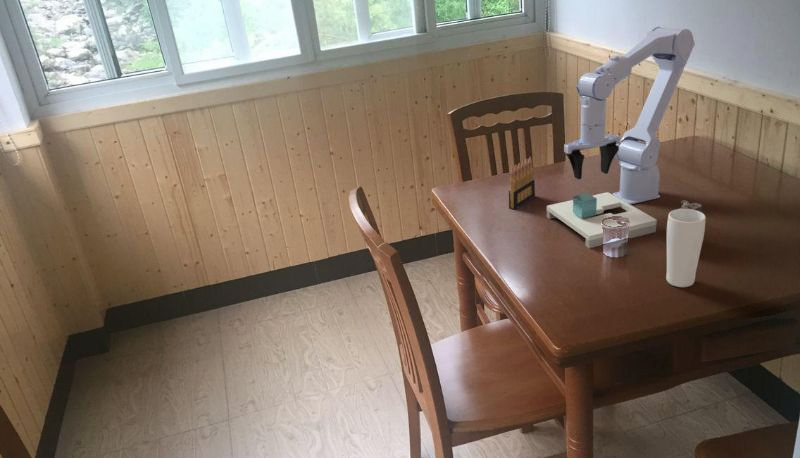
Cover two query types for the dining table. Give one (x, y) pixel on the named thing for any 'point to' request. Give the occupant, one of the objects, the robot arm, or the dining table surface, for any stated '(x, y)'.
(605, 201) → the keyhole plate
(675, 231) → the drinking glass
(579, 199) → the peg
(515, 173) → the ammunition clip
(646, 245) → the dining table surface
